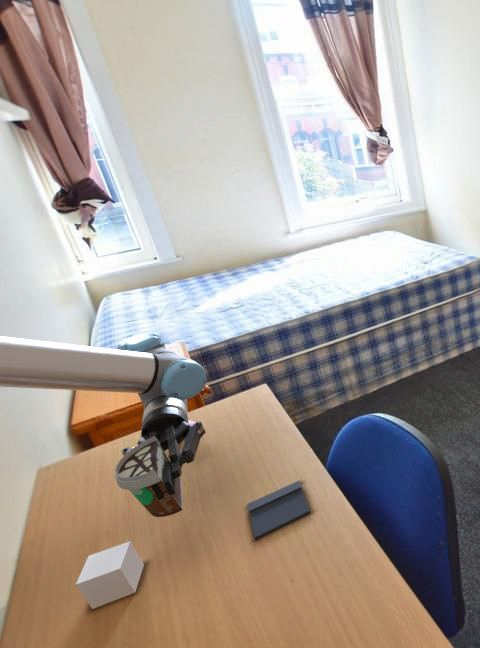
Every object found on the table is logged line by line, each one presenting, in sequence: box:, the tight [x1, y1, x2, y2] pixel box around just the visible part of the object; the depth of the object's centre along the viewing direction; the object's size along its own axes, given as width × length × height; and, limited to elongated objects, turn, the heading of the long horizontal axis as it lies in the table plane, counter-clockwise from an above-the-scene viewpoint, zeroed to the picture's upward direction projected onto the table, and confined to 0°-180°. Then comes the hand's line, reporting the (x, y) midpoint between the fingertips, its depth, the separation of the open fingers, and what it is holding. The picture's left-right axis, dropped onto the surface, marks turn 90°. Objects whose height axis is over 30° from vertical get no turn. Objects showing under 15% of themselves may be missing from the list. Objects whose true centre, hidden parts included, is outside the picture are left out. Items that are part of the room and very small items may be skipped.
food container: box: [114, 436, 184, 518], centre depth 80 cm, size 12×6×10 cm, turn 35°
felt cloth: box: [247, 480, 311, 541], centre depth 93 cm, size 10×10×1 cm
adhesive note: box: [75, 540, 145, 610], centre depth 80 cm, size 6×6×6 cm
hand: (163, 490), depth 76 cm, fingers closed on food container
